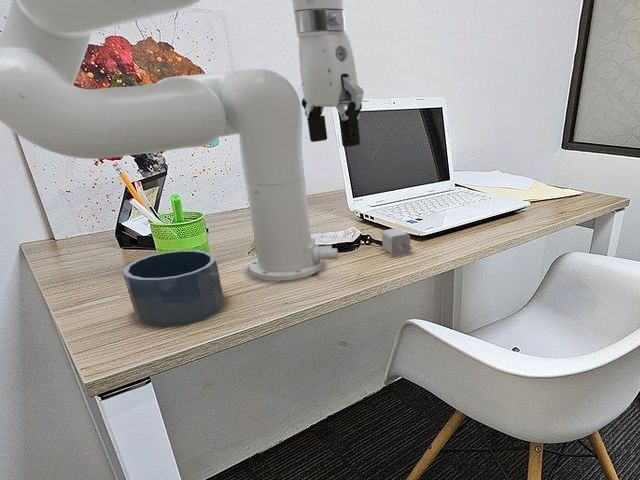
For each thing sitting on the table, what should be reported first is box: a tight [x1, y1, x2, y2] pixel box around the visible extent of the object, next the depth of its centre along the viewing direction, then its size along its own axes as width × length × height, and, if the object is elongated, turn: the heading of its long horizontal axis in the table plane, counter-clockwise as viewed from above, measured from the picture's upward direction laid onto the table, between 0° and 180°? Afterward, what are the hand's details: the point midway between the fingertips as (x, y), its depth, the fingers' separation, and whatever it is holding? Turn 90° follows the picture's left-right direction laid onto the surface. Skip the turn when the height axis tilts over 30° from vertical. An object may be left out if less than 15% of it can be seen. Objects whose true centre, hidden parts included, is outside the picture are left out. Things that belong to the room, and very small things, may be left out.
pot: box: [122, 249, 225, 328], centre depth 69 cm, size 12×12×7 cm
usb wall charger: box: [381, 227, 413, 257], centre depth 91 cm, size 4×7×4 cm, turn 28°
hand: (334, 143), depth 81 cm, fingers open, 9 cm apart
